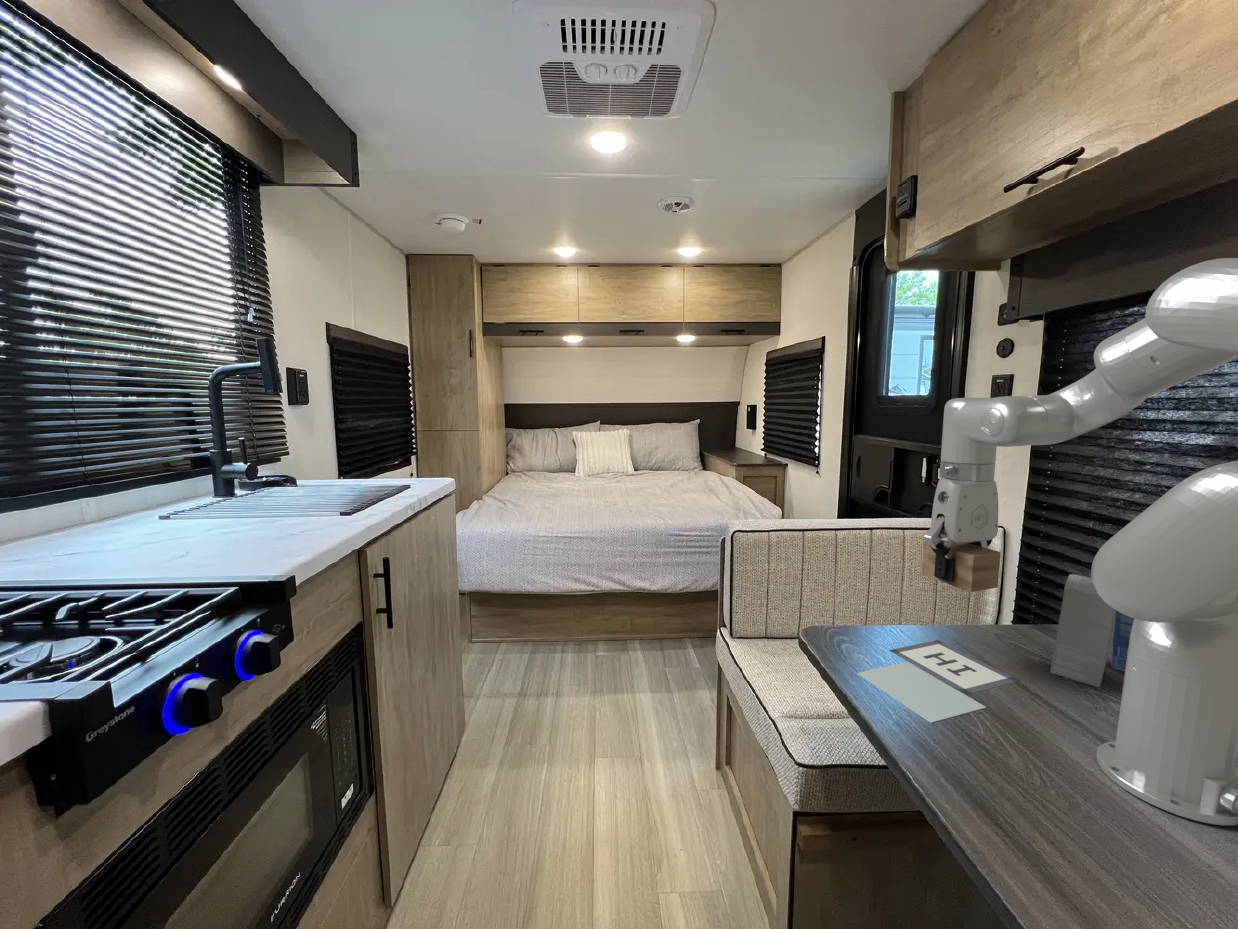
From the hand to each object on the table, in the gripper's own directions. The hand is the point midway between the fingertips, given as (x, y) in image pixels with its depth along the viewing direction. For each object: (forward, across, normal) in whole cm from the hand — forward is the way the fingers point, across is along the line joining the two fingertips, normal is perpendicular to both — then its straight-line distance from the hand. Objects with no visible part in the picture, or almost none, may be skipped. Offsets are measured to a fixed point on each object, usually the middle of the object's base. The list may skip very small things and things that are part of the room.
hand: (958, 576), depth 87 cm
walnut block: (+1, 0, 0) cm, 1 cm away
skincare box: (+16, +18, -9) cm, 26 cm away
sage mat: (+16, -12, -4) cm, 20 cm away
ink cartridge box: (+16, +30, -10) cm, 36 cm away
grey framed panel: (+16, 0, 0) cm, 16 cm away
